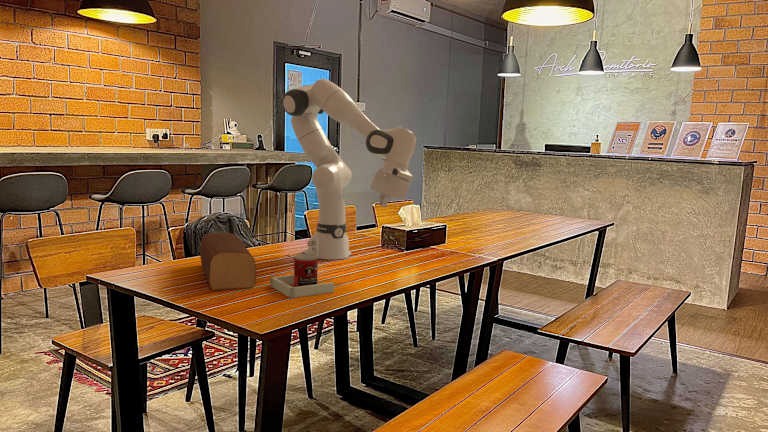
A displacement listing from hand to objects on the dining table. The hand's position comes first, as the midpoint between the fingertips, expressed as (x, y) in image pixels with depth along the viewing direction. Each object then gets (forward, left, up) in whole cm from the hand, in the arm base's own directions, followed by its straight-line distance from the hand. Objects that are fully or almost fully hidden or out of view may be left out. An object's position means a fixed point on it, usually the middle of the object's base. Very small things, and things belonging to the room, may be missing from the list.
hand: (382, 206), depth 218 cm
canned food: (+8, -35, -25) cm, 44 cm away
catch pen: (+8, -36, -25) cm, 45 cm away
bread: (-20, -52, -25) cm, 62 cm away
